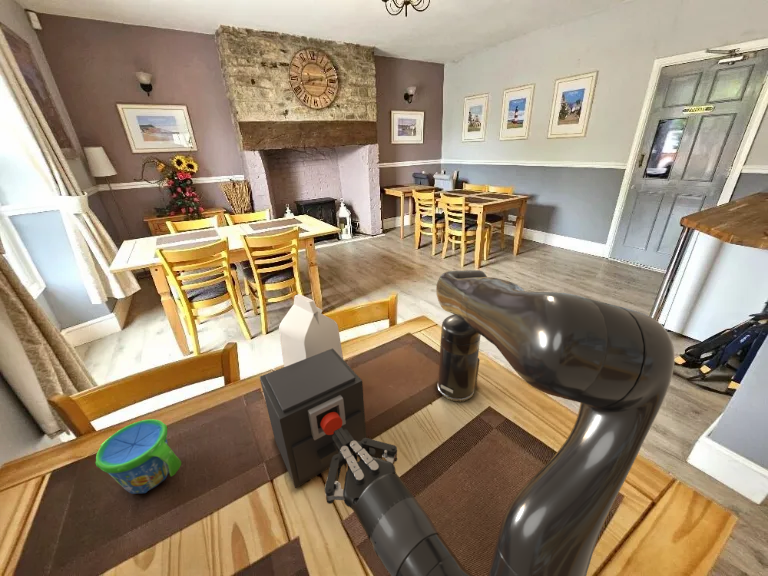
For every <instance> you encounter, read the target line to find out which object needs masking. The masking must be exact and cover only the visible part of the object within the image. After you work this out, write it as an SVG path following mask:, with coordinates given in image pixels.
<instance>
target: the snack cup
mask: <svg viewBox="0 0 768 576" xmlns="http://www.w3.org/2000/svg"><path fill="white" fill-rule="evenodd" d="M168 443H169V442H168V426H167V424H165V423H164V422H163V421H162V420H159V419H153V418H152V419H151V418H149V419H143V420H138V421H135V422H132V423H131V424H128V425H125V426H124V427H122V428H121V429H119V430H118V431H116V432H115V433H113V434H112V435H110V436H109V437H108V438H106V439H105V440H104V441H103V442H102V443H101V444H100V446H99V448H98V450H97V452H96V454H95V455H96V456H95V462H94V463H95V465H96V467H97V468H99V469H100V470H101V471H103V472H104V473H107V474H108V475H109V476H110V477H111V478H112V479H113V480H114V481H115V482H116V483H117V484H119V485H120V486H121V487H122V488H123V489H124V490H125V491H126V492H128V494H132V495H136V494H146V493H148V491H151V490H153V489H154V488H156V487H157V486H159V485H160V484H161V483H162V482H164V481H165V480H166V479H167V477H168V475H169V477H171V478H172V477H173V476H175V475H176V474H177V473H178V471H179V470H180V468H181V466H182V460H181V459H180V458H179V457H178V456H177V455H176V453H175V452H174V451H173V450H172V448H171V447H170V446H169V444H168Z"/></svg>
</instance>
